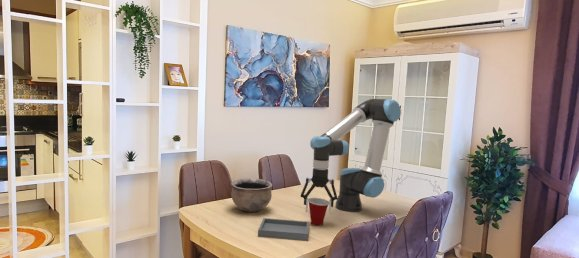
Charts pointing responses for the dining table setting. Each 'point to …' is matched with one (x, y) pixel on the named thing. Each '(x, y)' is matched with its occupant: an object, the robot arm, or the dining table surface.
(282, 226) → the cup tray
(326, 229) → the dining table surface
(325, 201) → the plastic cup
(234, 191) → the ceramic bowl
